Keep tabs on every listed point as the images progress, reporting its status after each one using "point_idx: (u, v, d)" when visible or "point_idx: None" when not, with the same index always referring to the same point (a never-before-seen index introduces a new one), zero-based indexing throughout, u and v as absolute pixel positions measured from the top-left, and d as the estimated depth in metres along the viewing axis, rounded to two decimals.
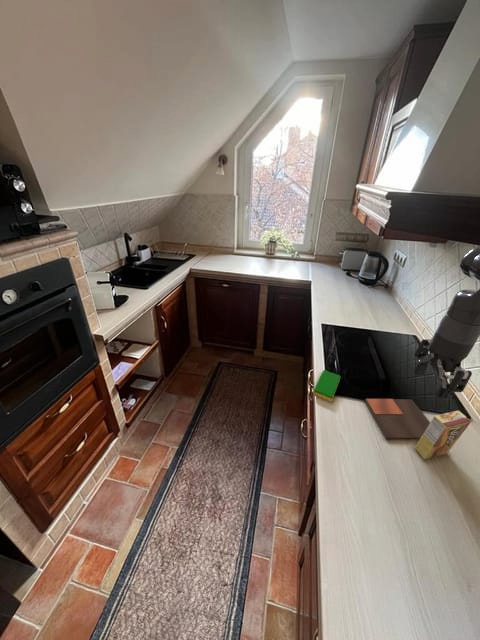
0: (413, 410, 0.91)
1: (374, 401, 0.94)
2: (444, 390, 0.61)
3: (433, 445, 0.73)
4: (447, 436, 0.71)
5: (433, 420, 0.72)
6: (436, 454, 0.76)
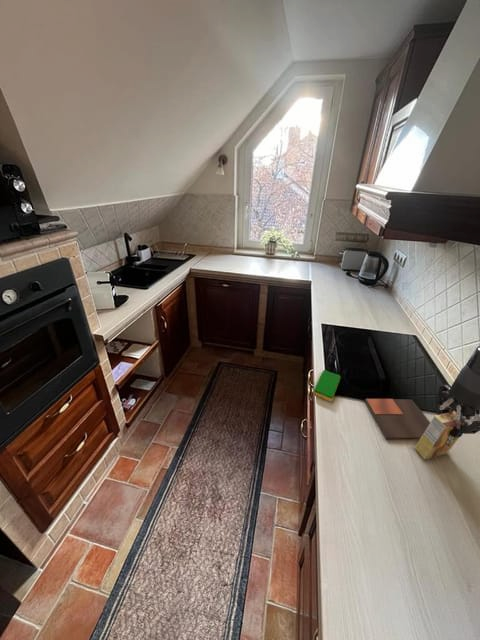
0: (413, 410, 0.91)
1: (374, 401, 0.94)
2: (458, 430, 0.68)
3: (433, 445, 0.73)
4: (447, 436, 0.71)
5: (433, 420, 0.72)
6: (436, 454, 0.76)
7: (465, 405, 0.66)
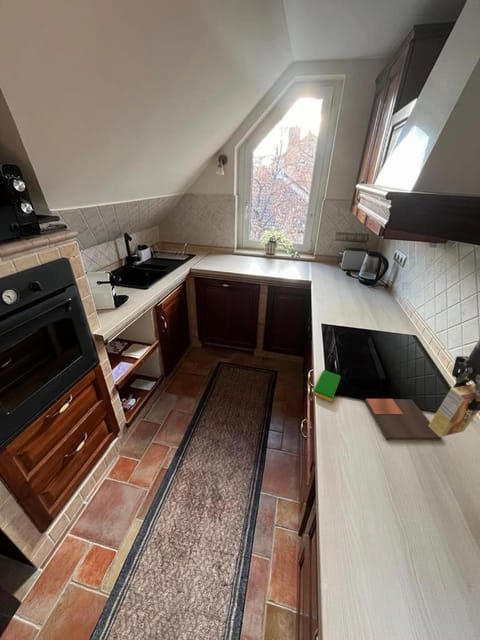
0: (413, 410, 0.91)
1: (374, 401, 0.94)
2: (477, 403, 0.63)
3: (449, 421, 0.67)
4: (465, 410, 0.66)
5: (449, 393, 0.66)
6: (452, 431, 0.70)
7: None
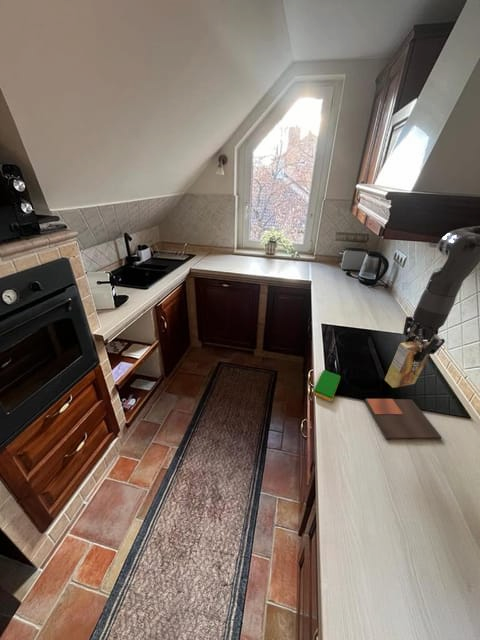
0: (413, 410, 0.91)
1: (374, 401, 0.94)
2: (420, 353, 0.74)
3: (399, 371, 0.78)
4: (412, 362, 0.77)
5: (399, 348, 0.78)
6: (403, 383, 0.82)
7: (425, 328, 0.72)
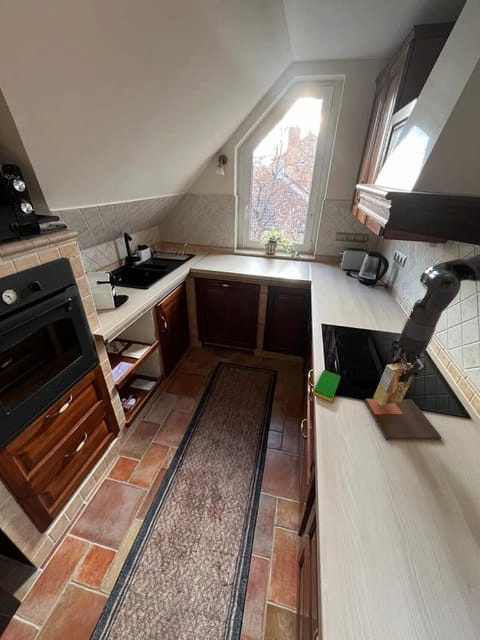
0: (413, 410, 0.91)
1: (374, 401, 0.94)
2: (404, 375, 0.80)
3: (386, 391, 0.84)
4: (397, 382, 0.83)
5: (385, 369, 0.84)
6: (390, 401, 0.88)
7: (409, 352, 0.78)
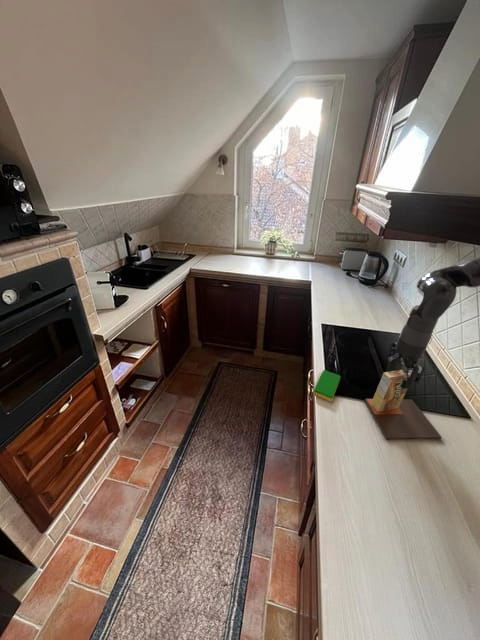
0: (413, 410, 0.91)
1: None
2: (406, 382, 0.79)
3: (383, 398, 0.86)
4: (394, 390, 0.84)
5: (383, 376, 0.85)
6: (387, 407, 0.89)
7: (406, 357, 0.79)
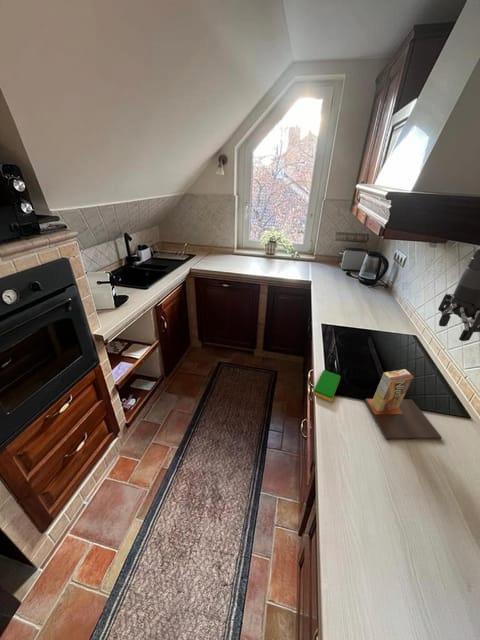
0: (413, 410, 0.91)
1: None
2: (467, 332, 0.73)
3: (383, 398, 0.86)
4: (394, 390, 0.84)
5: (383, 376, 0.85)
6: (387, 407, 0.89)
7: (467, 306, 0.73)
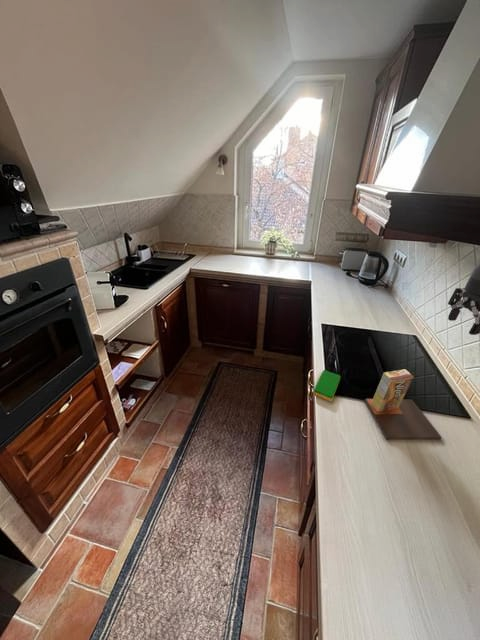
0: (413, 410, 0.91)
1: None
2: (477, 326, 0.73)
3: (383, 398, 0.86)
4: (394, 390, 0.84)
5: (383, 376, 0.85)
6: (387, 407, 0.89)
7: (478, 299, 0.73)
